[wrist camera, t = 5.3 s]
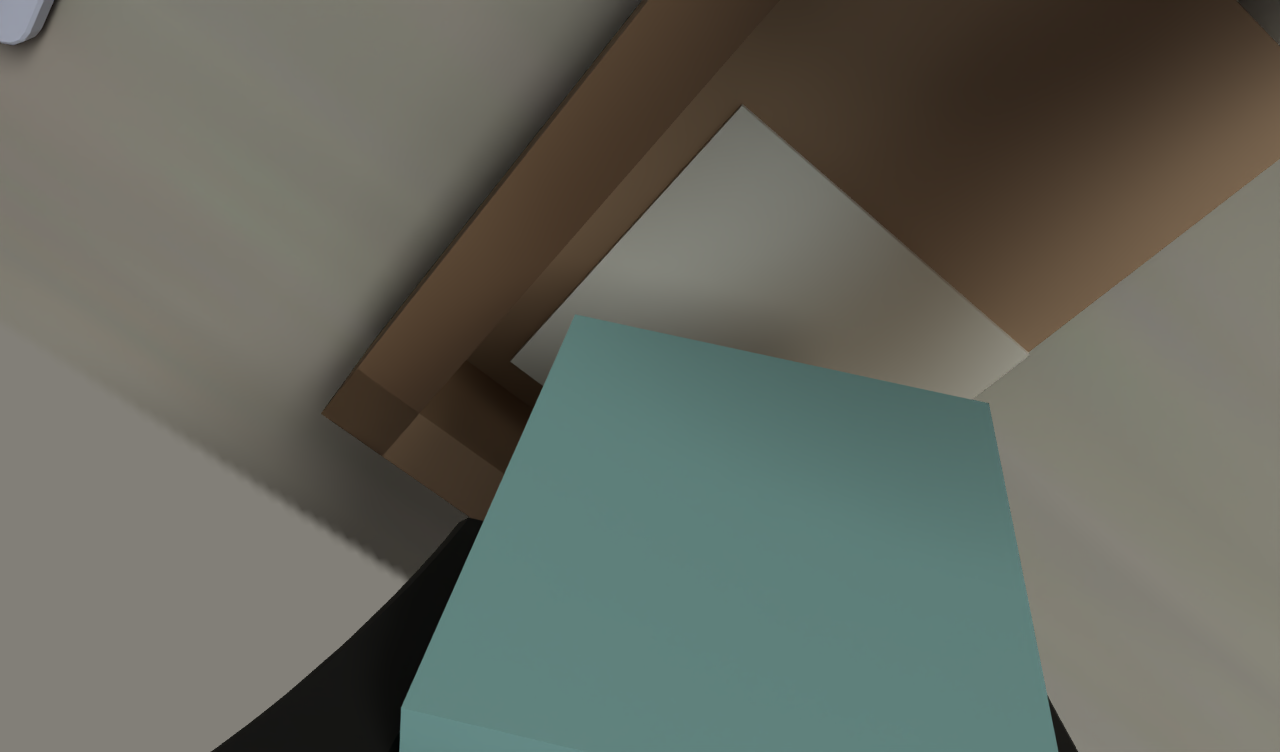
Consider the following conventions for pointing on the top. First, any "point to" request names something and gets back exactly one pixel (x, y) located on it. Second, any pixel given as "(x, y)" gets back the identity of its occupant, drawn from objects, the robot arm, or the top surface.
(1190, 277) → the top surface
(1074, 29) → the tray
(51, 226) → the top surface
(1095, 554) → the top surface
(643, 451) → the block
